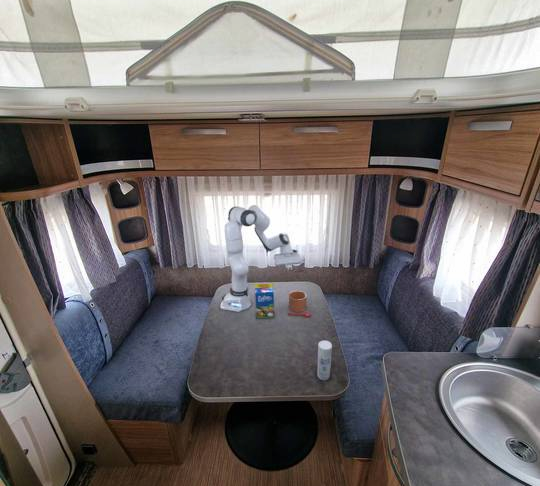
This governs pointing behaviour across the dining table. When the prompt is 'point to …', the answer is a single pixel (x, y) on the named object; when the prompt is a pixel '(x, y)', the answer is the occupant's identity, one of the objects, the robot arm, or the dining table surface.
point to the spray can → (324, 359)
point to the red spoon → (300, 314)
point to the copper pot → (297, 301)
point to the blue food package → (264, 300)
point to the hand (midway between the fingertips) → (289, 269)
